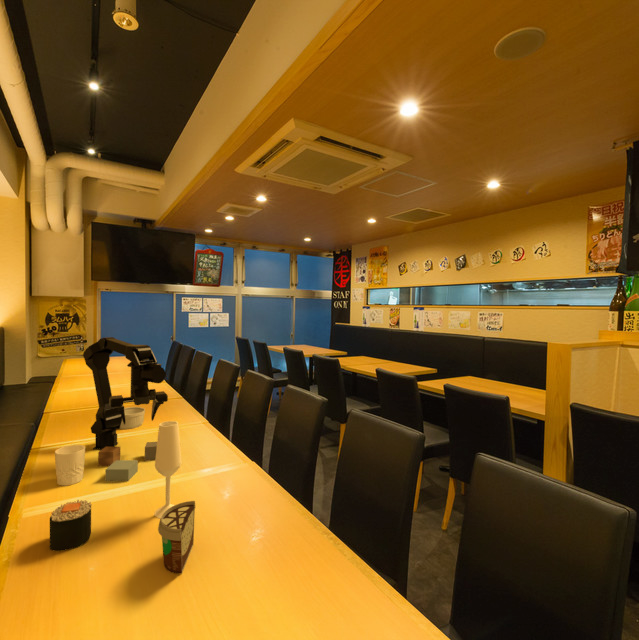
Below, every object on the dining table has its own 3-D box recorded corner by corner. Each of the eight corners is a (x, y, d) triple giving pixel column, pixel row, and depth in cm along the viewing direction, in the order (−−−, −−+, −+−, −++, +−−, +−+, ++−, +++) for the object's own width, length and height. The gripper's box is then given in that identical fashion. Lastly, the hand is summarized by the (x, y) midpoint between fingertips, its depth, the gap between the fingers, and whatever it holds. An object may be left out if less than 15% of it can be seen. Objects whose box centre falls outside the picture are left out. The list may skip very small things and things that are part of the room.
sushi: (45, 555, 82) (46, 519, 81) (55, 533, 89) (55, 501, 89) (88, 546, 85) (88, 512, 85) (94, 526, 93) (94, 495, 92)
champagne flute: (161, 504, 104) (162, 419, 103) (184, 505, 103) (186, 420, 103) (149, 518, 97) (150, 427, 96) (174, 519, 97) (175, 428, 96)
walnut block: (98, 466, 127) (98, 451, 127) (105, 460, 132) (106, 446, 132) (113, 466, 127) (113, 452, 127) (120, 460, 132) (120, 446, 132)
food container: (168, 541, 87) (168, 500, 87) (195, 540, 88) (195, 499, 88) (148, 580, 75) (149, 531, 75) (179, 578, 76) (180, 530, 75)
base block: (105, 482, 116) (105, 469, 116) (116, 472, 123) (116, 460, 123) (128, 481, 117) (128, 469, 117) (137, 472, 124) (137, 460, 124)
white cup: (52, 488, 111) (52, 455, 110) (57, 477, 118) (57, 446, 117) (83, 483, 114) (83, 451, 114) (86, 473, 121) (86, 443, 121)
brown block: (144, 461, 132) (144, 447, 132) (146, 455, 137) (146, 442, 137) (159, 459, 133) (160, 446, 133) (161, 454, 138) (161, 441, 138)
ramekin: (116, 432, 160) (116, 416, 160) (109, 424, 170) (109, 409, 170) (148, 426, 169) (148, 411, 169) (140, 419, 179) (140, 405, 179)
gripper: (112, 386, 123) (111, 433, 123) (171, 382, 133) (170, 424, 134) (109, 380, 132) (108, 423, 133) (164, 376, 142) (164, 416, 143)
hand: (138, 422), depth 135 cm, fingers open, 9 cm apart
